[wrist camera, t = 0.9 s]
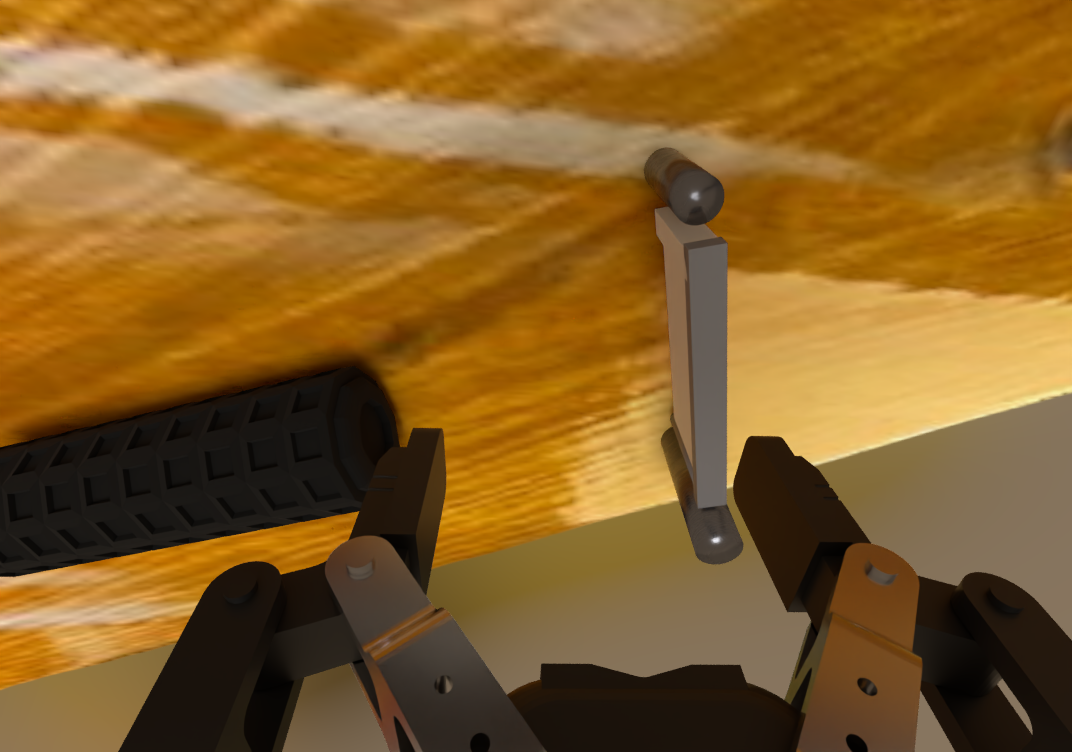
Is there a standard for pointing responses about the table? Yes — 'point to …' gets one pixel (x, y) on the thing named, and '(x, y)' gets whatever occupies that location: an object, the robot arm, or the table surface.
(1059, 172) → the table surface
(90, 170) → the table surface
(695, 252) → the panel
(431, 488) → the robot arm
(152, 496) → the roller
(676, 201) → the gate frame
